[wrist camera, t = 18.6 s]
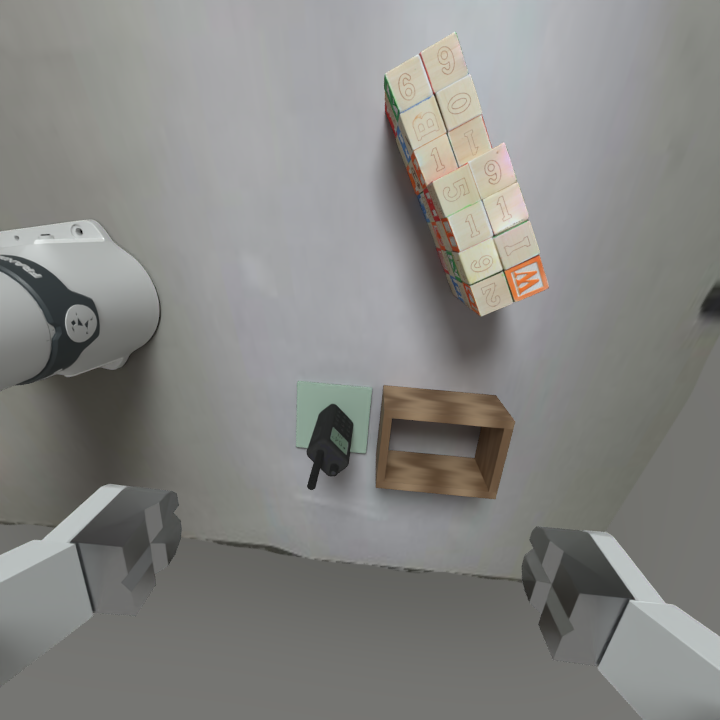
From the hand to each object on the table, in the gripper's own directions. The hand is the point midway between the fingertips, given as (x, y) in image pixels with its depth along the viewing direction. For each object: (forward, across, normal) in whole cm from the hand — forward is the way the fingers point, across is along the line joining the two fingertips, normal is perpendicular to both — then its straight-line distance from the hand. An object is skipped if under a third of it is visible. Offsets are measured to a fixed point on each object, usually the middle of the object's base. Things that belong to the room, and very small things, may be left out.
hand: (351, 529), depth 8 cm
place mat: (+37, +4, +18) cm, 41 cm away
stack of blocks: (+38, -7, -11) cm, 40 cm away
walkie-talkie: (+37, +4, +18) cm, 41 cm away
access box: (+37, -10, +18) cm, 42 cm away
